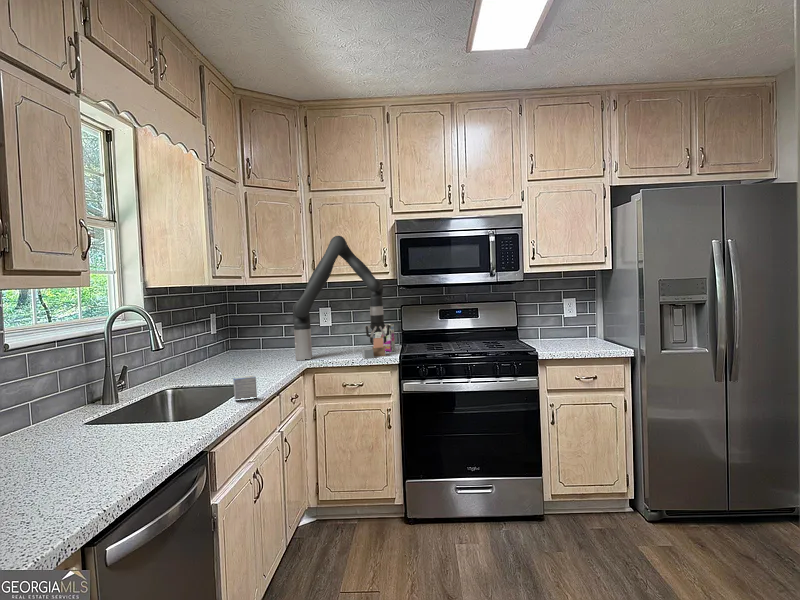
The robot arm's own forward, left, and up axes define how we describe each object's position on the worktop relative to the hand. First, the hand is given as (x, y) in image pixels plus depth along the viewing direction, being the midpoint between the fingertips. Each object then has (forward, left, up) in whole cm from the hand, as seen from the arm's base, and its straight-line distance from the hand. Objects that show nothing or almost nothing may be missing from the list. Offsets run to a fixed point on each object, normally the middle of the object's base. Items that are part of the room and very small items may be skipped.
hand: (378, 343), depth 311 cm
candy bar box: (+6, +16, -7) cm, 19 cm away
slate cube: (-7, -7, -7) cm, 12 cm away
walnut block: (0, 0, -7) cm, 7 cm away
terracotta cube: (0, 0, -2) cm, 2 cm away
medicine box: (-63, -94, -7) cm, 114 cm away
